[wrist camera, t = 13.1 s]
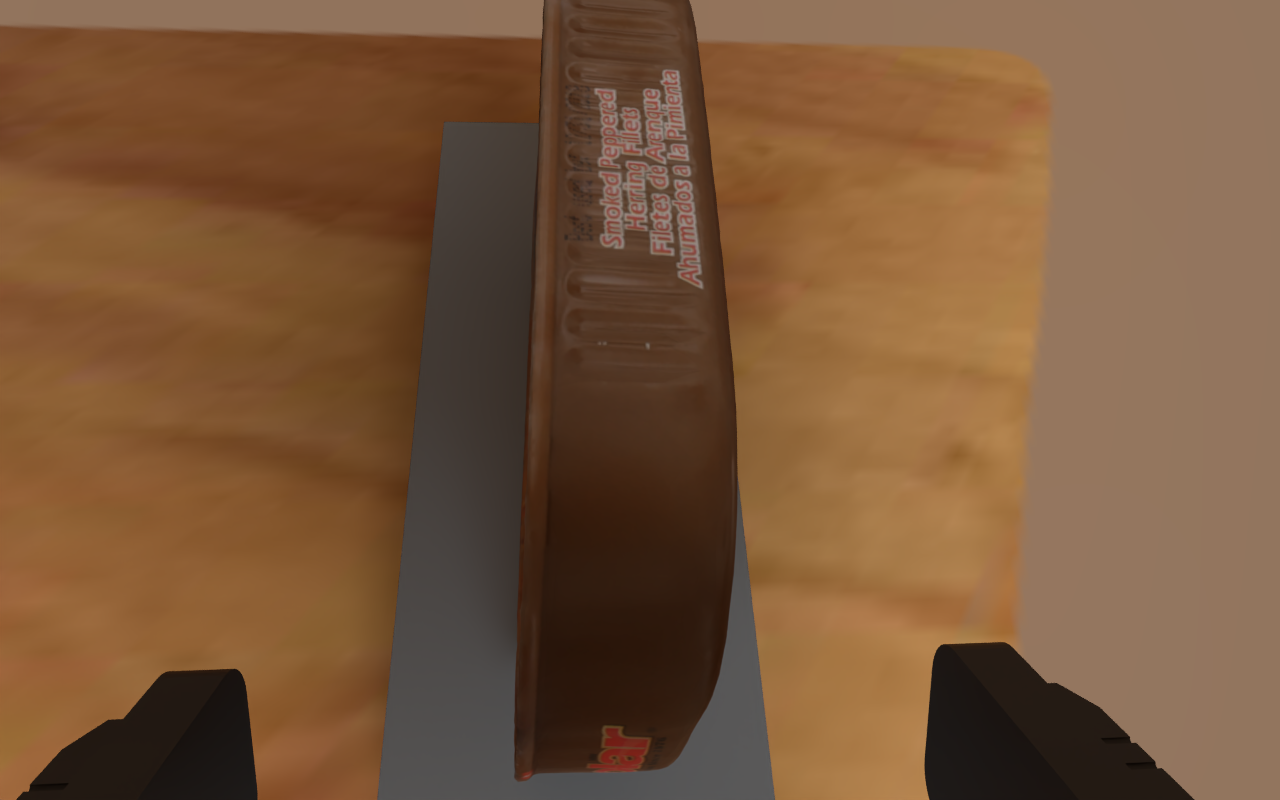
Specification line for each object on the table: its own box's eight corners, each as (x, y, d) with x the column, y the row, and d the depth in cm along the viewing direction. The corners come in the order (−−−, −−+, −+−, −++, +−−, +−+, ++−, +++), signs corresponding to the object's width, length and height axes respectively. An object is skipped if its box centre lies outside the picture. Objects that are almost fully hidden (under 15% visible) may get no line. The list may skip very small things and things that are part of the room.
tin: (535, 189, 23) (517, -146, 16) (654, 191, 24) (688, -138, 17) (508, 818, 16) (450, 706, 8) (688, 814, 16) (781, 699, 9)
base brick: (412, 928, 19) (364, 921, 15) (463, 244, 29) (444, 121, 25) (740, 911, 19) (786, 899, 15) (679, 245, 29) (697, 125, 25)
